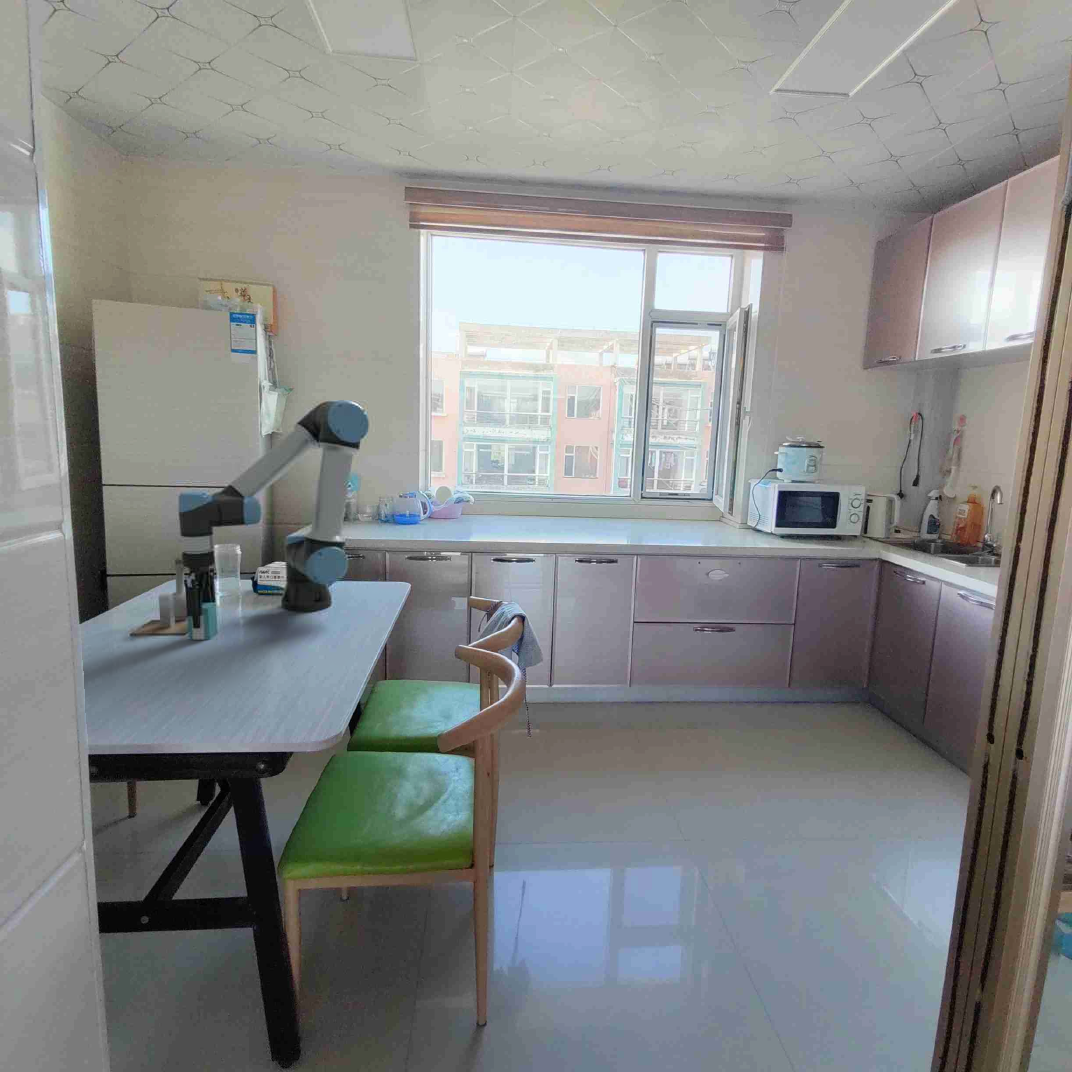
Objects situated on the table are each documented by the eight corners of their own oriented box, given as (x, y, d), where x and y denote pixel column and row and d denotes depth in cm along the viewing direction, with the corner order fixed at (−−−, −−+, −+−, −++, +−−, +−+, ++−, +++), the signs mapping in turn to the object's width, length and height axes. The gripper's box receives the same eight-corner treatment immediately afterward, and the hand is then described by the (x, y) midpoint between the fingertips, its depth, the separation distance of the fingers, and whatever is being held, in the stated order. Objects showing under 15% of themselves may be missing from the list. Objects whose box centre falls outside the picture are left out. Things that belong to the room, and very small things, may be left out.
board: (203, 621, 177) (203, 619, 177) (185, 635, 166) (185, 633, 165) (152, 621, 176) (151, 619, 175) (129, 635, 164) (129, 633, 164)
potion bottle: (204, 615, 183) (203, 555, 182) (185, 621, 174) (183, 558, 173) (176, 614, 184) (175, 554, 182) (156, 620, 175) (154, 557, 173)
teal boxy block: (217, 632, 168) (215, 602, 167) (210, 639, 163) (208, 608, 161) (197, 633, 167) (195, 602, 166) (189, 639, 162) (187, 608, 161)
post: (175, 624, 172) (172, 593, 170) (170, 627, 169) (168, 596, 168) (165, 624, 172) (162, 593, 170) (160, 627, 169) (158, 596, 167)
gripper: (197, 544, 170) (202, 624, 174) (166, 557, 152) (173, 647, 156) (226, 544, 171) (230, 624, 175) (198, 557, 153) (204, 646, 157)
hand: (203, 635), depth 165 cm, fingers closed on teal boxy block, 5 cm apart
